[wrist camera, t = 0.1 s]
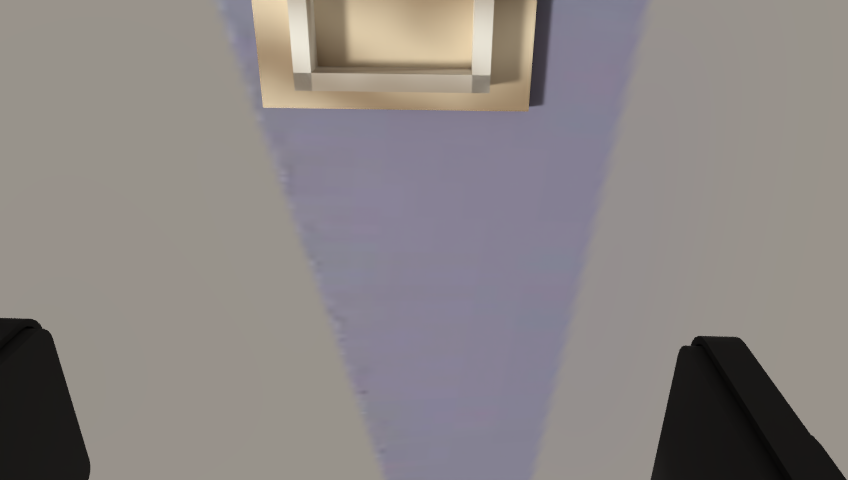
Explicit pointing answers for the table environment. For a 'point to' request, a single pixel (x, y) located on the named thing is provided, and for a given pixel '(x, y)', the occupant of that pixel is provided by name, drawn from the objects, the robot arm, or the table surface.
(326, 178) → the table surface
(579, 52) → the table surface
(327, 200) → the table surface
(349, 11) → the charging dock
